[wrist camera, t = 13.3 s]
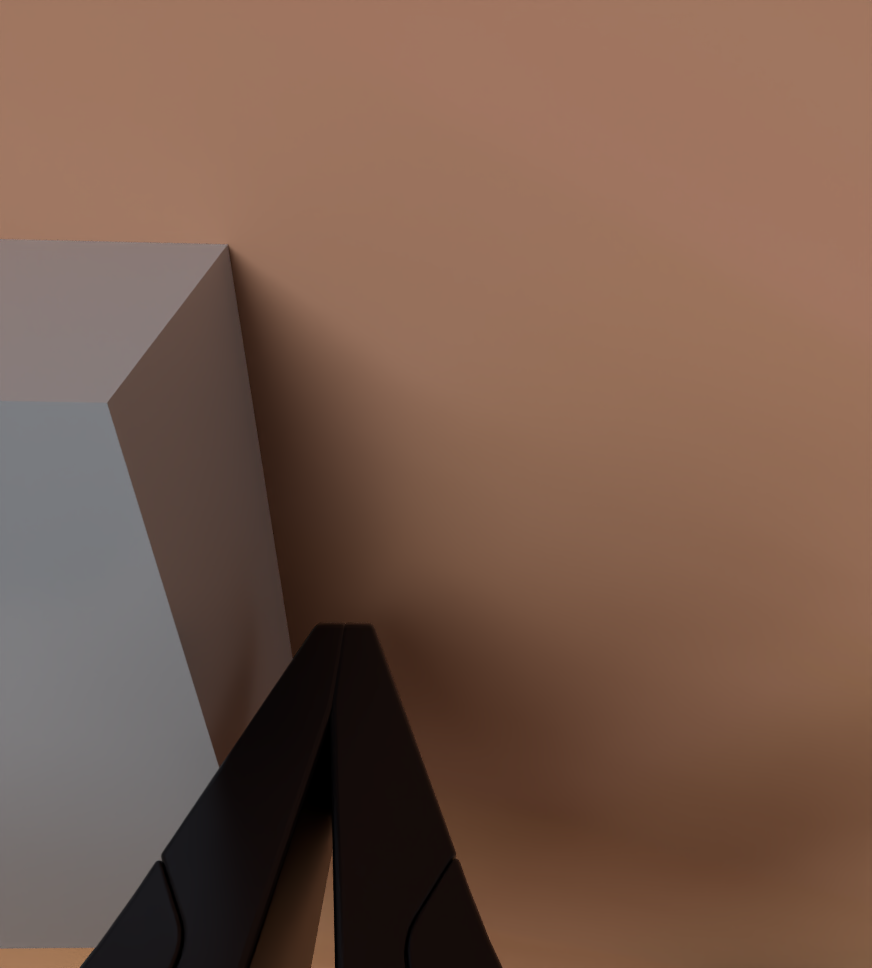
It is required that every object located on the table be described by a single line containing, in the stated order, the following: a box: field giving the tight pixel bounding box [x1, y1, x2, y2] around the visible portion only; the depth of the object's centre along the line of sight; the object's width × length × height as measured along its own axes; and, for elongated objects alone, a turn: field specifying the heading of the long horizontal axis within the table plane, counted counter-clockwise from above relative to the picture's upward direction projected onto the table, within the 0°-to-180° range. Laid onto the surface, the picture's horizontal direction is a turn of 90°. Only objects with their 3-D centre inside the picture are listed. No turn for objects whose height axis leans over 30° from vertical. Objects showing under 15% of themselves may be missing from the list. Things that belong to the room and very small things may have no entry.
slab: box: [0, 239, 293, 948], centre depth 9 cm, size 10×7×4 cm
